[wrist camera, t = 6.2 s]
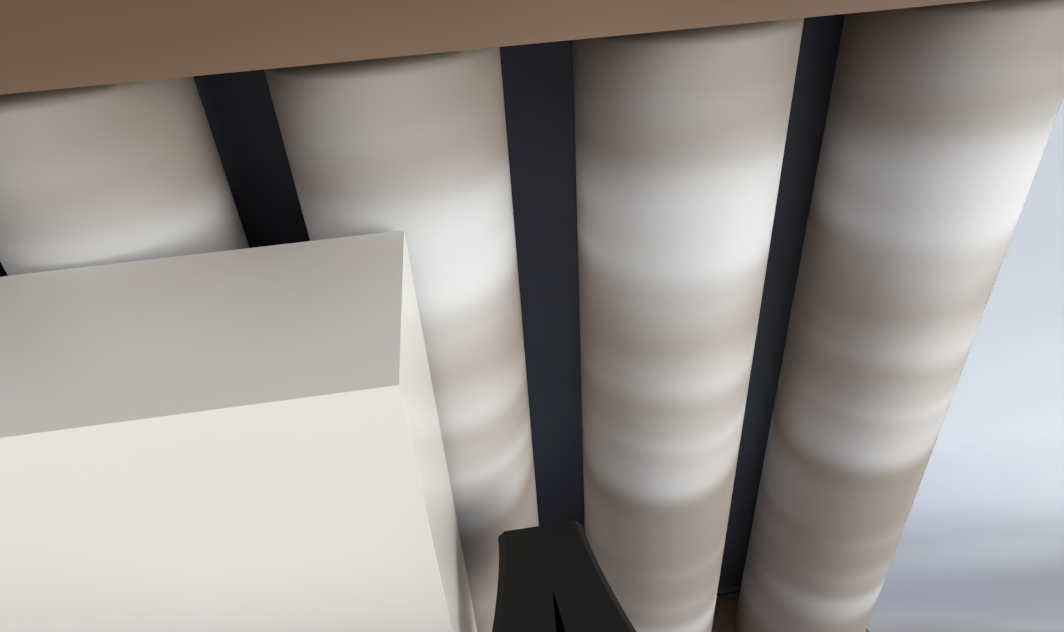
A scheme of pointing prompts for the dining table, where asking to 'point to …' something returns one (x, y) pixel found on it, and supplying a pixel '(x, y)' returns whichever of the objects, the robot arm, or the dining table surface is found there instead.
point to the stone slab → (225, 447)
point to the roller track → (596, 241)
